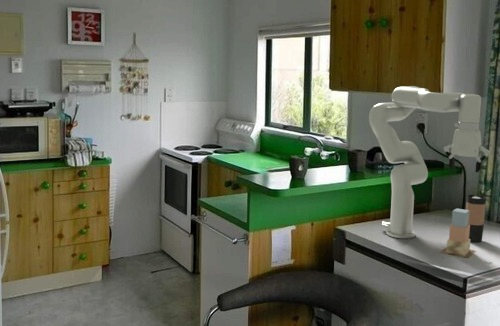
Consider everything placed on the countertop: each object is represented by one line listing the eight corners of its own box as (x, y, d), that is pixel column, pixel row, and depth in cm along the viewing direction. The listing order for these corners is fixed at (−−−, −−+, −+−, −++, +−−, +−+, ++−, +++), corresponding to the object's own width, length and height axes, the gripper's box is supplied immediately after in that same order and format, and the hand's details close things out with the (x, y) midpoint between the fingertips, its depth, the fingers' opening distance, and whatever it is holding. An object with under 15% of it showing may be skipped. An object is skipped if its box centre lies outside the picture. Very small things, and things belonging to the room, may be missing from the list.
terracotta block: (449, 240, 228) (450, 225, 227) (453, 236, 233) (454, 222, 232) (464, 243, 225) (465, 228, 224) (468, 239, 230) (470, 224, 228)
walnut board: (439, 254, 229) (439, 252, 229) (448, 247, 238) (448, 245, 237) (467, 260, 223) (467, 258, 222) (475, 253, 231) (475, 250, 231)
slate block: (455, 222, 231) (456, 208, 230) (468, 224, 228) (469, 210, 227) (451, 225, 227) (452, 210, 226) (464, 227, 224) (465, 213, 223)
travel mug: (472, 246, 240) (476, 199, 236) (459, 240, 247) (462, 195, 243) (486, 243, 243) (490, 197, 239) (472, 238, 250) (476, 193, 246)
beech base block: (446, 252, 229) (447, 240, 228) (451, 247, 235) (452, 235, 234) (464, 255, 225) (465, 243, 224) (469, 251, 231) (470, 239, 230)
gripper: (442, 125, 222) (439, 168, 226) (489, 129, 212) (485, 174, 216) (448, 123, 228) (445, 166, 232) (494, 127, 218) (490, 171, 222)
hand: (464, 170), depth 224 cm, fingers open, 9 cm apart
